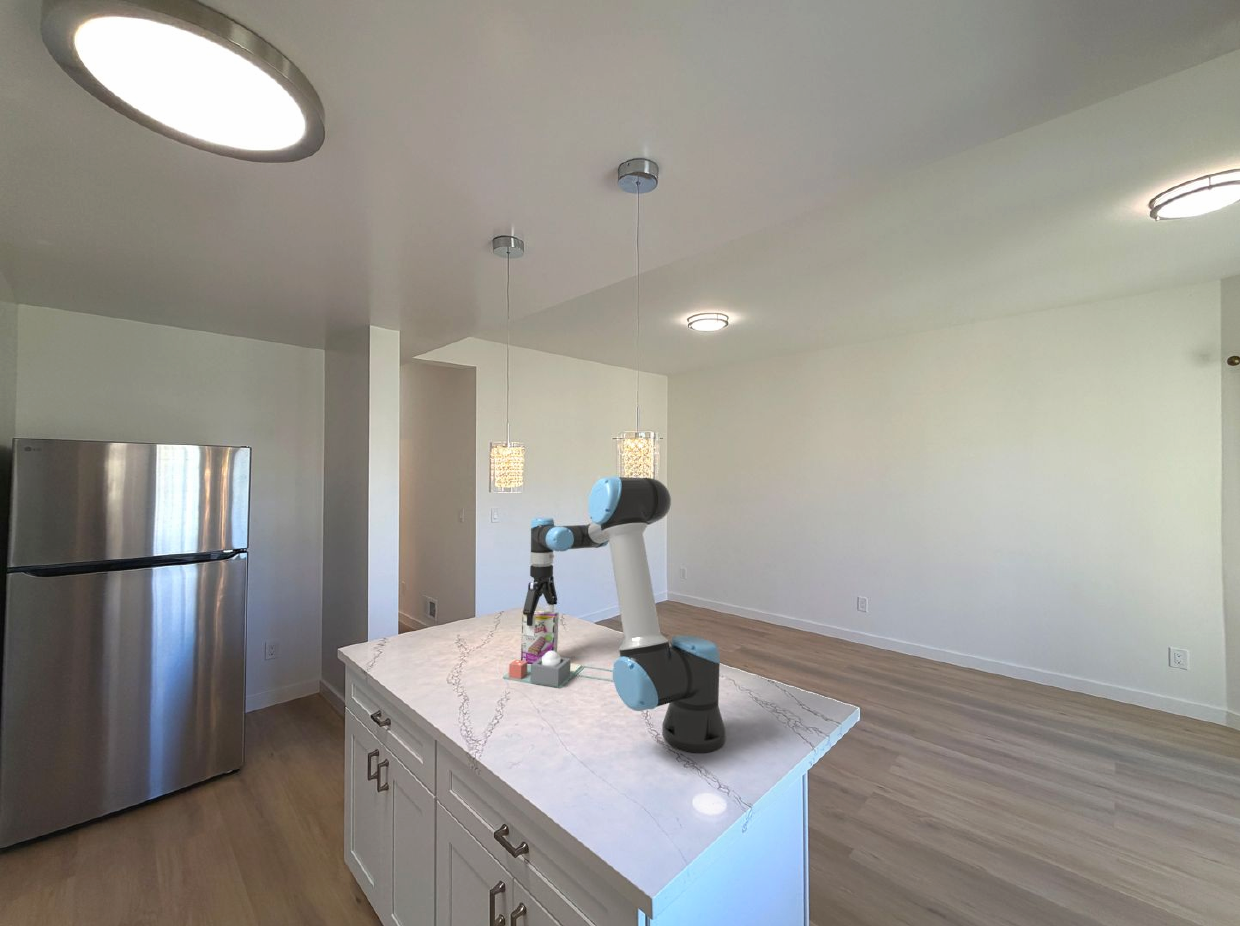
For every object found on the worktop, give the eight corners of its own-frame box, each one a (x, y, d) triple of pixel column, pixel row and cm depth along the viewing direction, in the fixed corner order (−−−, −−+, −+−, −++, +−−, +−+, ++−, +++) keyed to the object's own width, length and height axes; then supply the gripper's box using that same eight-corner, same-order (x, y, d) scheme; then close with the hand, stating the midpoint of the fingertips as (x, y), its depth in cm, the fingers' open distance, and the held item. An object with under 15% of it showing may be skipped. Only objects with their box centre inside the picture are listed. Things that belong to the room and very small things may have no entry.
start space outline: (615, 681, 151) (615, 681, 151) (573, 675, 155) (573, 674, 155) (623, 672, 159) (623, 671, 159) (583, 666, 163) (583, 665, 163)
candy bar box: (520, 663, 162) (521, 613, 162) (525, 658, 167) (526, 609, 167) (553, 666, 160) (554, 615, 160) (557, 661, 165) (559, 611, 165)
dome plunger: (555, 676, 148) (555, 655, 148) (538, 673, 149) (538, 652, 150) (563, 669, 153) (563, 649, 153) (546, 666, 155) (547, 646, 155)
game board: (559, 688, 145) (559, 669, 145) (502, 679, 151) (502, 660, 151) (581, 667, 162) (582, 649, 162) (529, 659, 168) (530, 642, 168)
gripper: (534, 571, 151) (532, 642, 150) (567, 559, 175) (566, 620, 174) (512, 569, 154) (511, 639, 153) (548, 558, 177) (546, 618, 176)
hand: (540, 629), depth 163 cm, fingers open, 13 cm apart
